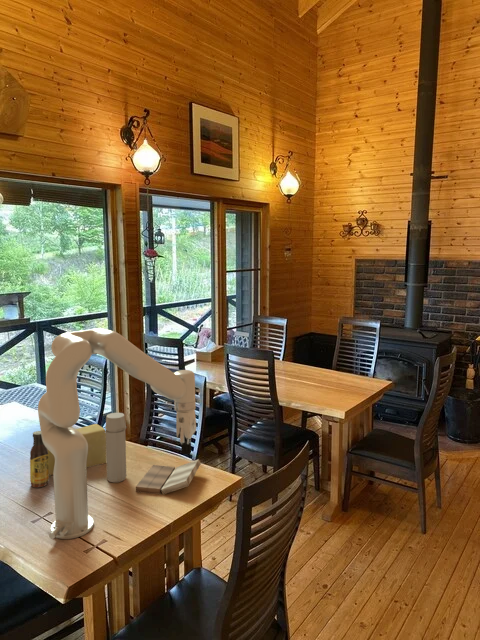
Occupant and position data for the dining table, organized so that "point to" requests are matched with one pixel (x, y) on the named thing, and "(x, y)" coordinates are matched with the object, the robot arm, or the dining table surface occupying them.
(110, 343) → the robot arm
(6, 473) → the dining table surface
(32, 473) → the sauce bottle
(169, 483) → the board
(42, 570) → the dining table surface
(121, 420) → the water bottle
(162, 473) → the laid board
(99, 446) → the cheese
